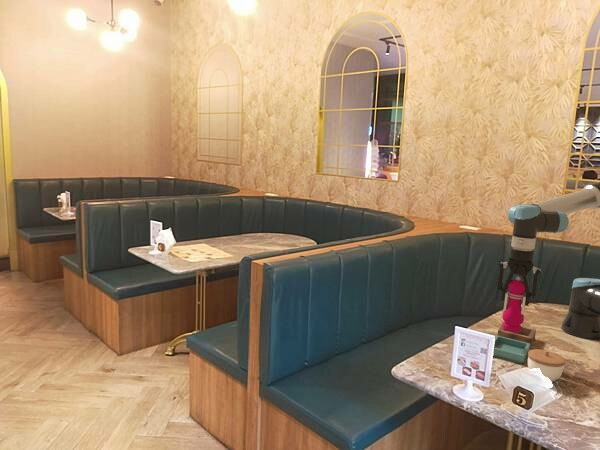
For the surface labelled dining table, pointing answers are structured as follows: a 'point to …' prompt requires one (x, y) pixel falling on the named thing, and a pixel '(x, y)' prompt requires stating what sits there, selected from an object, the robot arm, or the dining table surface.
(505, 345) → the teal tray
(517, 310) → the pepper mill
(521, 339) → the walnut holder
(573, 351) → the dining table surface
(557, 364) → the lidded jar
